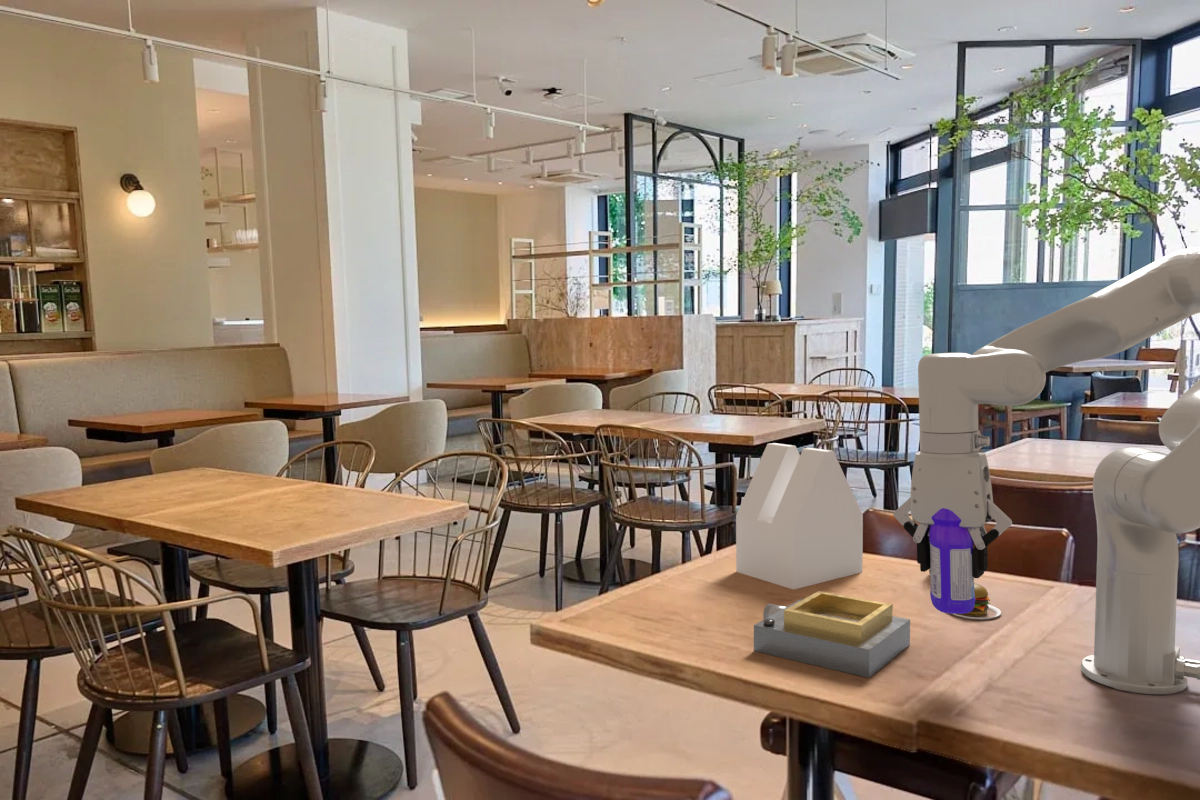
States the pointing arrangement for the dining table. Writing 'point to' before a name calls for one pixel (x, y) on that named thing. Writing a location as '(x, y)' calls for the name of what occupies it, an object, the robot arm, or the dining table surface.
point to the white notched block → (798, 520)
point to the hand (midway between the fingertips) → (952, 571)
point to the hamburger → (981, 604)
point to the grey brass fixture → (833, 633)
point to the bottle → (951, 564)
